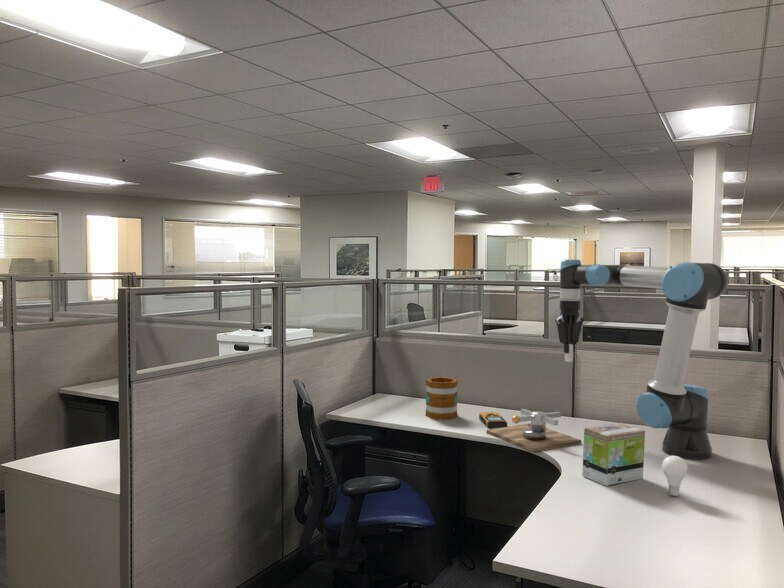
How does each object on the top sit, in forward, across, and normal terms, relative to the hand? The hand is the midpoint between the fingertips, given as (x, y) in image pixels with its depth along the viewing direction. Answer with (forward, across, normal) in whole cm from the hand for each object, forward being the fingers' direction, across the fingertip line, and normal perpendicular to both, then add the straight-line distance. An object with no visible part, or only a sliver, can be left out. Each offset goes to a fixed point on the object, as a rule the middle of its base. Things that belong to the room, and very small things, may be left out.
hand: (568, 361), depth 230 cm
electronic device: (+27, +20, -21) cm, 39 cm away
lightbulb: (+27, +24, +64) cm, 73 cm away
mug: (+27, +30, -43) cm, 59 cm away
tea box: (+27, +27, +46) cm, 60 cm away
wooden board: (+26, +20, +3) cm, 33 cm away
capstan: (+25, +20, +6) cm, 33 cm away
